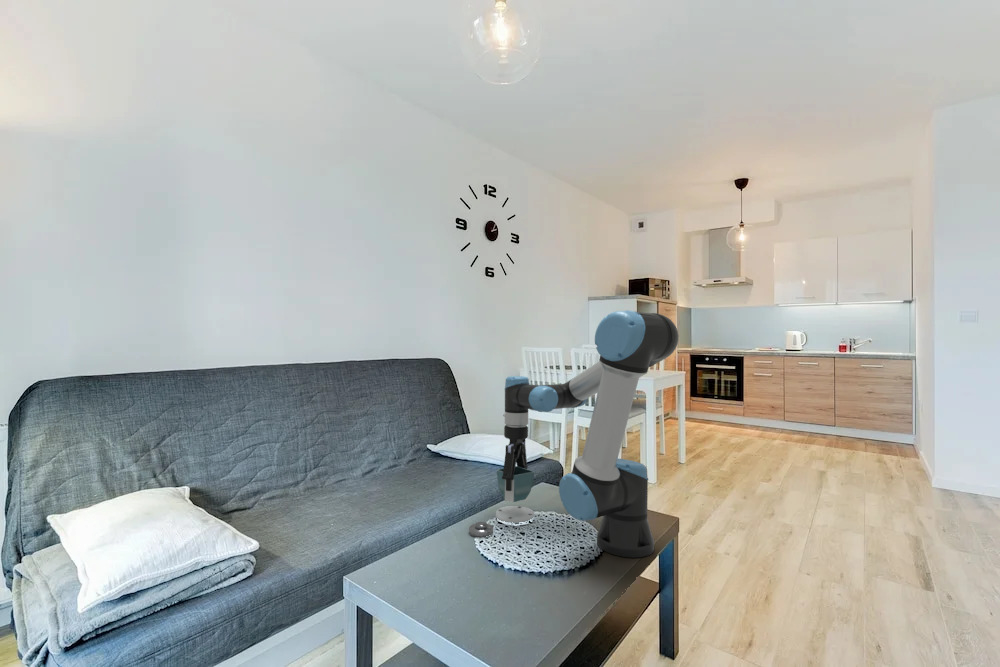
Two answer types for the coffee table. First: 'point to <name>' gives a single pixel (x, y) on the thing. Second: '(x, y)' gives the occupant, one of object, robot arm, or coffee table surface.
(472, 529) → the small metal flange
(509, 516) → the grey flange
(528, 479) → the flower pot
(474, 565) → the coffee table surface
